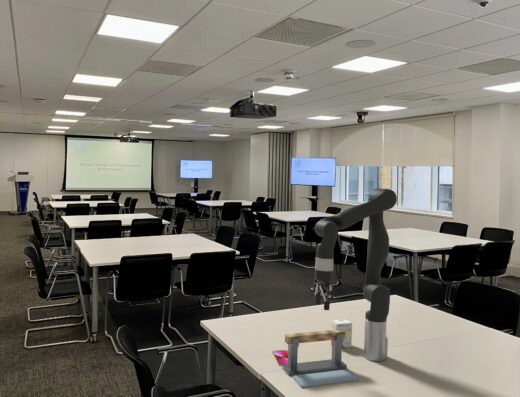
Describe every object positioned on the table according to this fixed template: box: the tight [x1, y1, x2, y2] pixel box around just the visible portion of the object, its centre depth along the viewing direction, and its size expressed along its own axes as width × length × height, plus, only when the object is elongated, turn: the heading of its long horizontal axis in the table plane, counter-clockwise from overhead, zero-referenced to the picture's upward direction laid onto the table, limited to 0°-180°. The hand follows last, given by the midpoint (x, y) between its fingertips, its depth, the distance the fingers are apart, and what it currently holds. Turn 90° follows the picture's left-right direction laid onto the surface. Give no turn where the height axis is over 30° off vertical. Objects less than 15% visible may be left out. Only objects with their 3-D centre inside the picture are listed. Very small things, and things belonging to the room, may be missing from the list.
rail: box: [284, 329, 345, 345], centre depth 182 cm, size 26×3×3 cm, turn 108°
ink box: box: [330, 319, 353, 349], centre depth 209 cm, size 9×5×12 cm, turn 107°
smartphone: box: [272, 349, 288, 367], centre depth 192 cm, size 7×1×15 cm
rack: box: [281, 333, 348, 377], centre depth 183 cm, size 26×7×14 cm, turn 108°
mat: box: [292, 368, 359, 388], centre depth 173 cm, size 24×8×1 cm, turn 108°
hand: (321, 307), depth 183 cm, fingers open, 8 cm apart
